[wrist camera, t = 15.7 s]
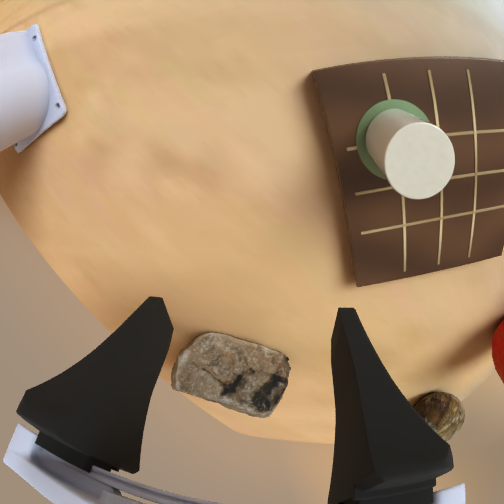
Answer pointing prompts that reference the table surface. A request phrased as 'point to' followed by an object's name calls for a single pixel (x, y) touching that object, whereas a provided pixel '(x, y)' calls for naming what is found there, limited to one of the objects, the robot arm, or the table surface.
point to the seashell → (442, 413)
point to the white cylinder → (410, 153)
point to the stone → (232, 373)
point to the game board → (457, 189)
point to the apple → (498, 350)
